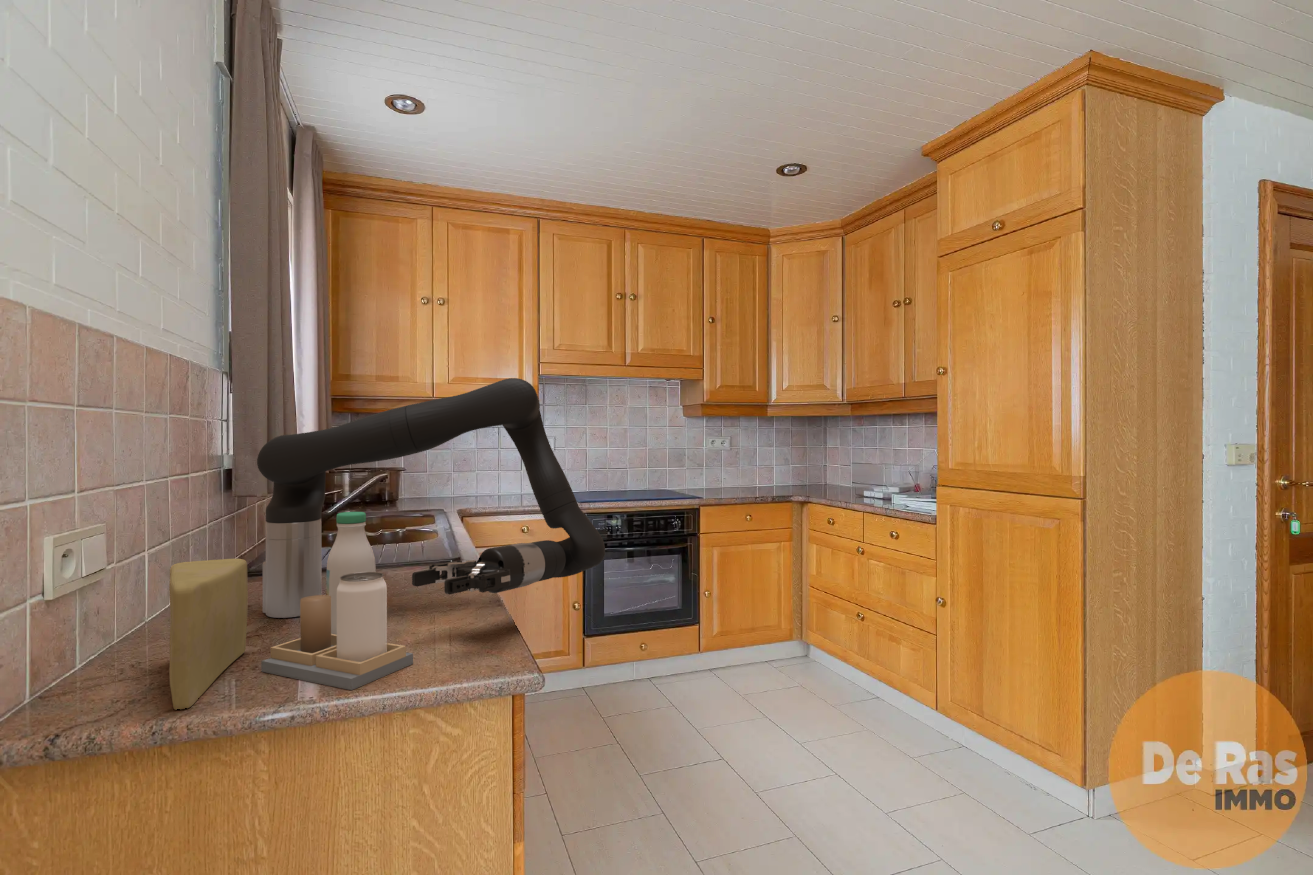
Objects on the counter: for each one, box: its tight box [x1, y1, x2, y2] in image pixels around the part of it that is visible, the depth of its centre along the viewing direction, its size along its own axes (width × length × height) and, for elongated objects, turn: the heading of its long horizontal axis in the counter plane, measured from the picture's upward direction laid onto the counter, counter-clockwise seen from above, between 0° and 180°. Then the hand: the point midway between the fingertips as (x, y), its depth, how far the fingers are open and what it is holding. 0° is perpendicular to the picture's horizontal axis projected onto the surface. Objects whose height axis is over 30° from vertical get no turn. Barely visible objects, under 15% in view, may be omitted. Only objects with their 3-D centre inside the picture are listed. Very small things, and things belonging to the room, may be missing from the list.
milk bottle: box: [325, 511, 377, 635], centre depth 115 cm, size 8×8×20 cm
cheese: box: [168, 558, 249, 711], centre depth 91 cm, size 22×10×15 cm, turn 26°
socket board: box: [260, 594, 414, 691], centre depth 96 cm, size 17×11×10 cm, turn 67°
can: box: [337, 571, 388, 662], centre depth 94 cm, size 6×6×12 cm
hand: (429, 583), depth 103 cm, fingers open, 8 cm apart
